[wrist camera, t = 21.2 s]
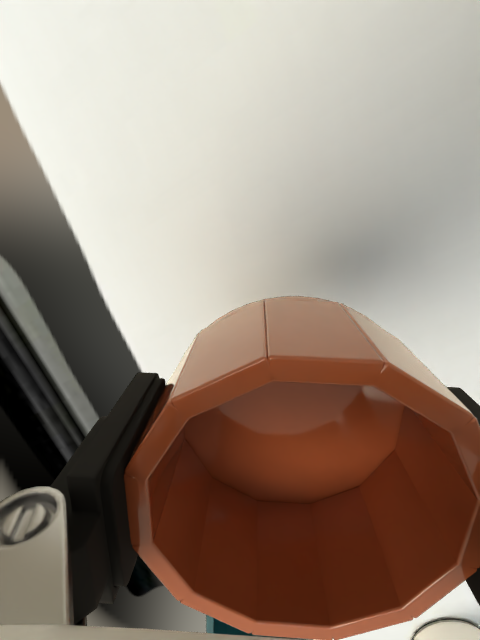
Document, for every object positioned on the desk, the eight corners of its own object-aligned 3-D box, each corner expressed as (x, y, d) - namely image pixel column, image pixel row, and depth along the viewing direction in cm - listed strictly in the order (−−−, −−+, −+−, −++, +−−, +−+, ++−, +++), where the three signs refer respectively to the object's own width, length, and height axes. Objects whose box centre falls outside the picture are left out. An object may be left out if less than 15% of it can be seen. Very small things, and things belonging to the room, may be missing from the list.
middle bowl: (178, 277, 11) (107, 348, 6) (412, 286, 11) (555, 368, 5) (184, 462, 13) (138, 627, 8) (374, 473, 13) (450, 651, 8)
